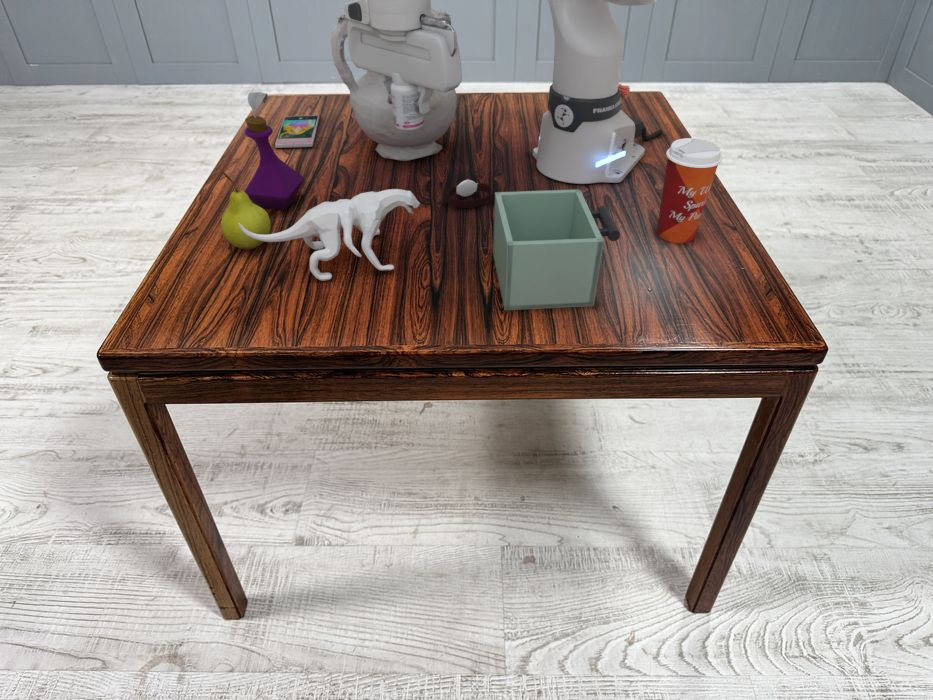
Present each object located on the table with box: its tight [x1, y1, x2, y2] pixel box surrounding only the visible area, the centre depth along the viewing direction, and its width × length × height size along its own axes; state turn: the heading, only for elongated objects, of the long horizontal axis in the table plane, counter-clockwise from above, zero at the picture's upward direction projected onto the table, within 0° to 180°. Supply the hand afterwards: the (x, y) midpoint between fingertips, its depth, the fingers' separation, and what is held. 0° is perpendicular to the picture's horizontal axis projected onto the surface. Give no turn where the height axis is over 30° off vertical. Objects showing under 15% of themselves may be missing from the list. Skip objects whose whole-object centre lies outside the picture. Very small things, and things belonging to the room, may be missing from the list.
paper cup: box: [657, 137, 723, 244], centre depth 97 cm, size 8×8×14 cm
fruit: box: [220, 170, 272, 251], centre depth 95 cm, size 7×7×12 cm
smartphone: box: [274, 114, 320, 149], centre depth 131 cm, size 7×1×15 cm
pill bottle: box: [391, 73, 424, 130], centre depth 100 cm, size 5×5×8 cm
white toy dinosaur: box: [238, 188, 421, 282], centre depth 92 cm, size 12×25×10 cm, turn 107°
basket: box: [492, 188, 621, 311], centre depth 89 cm, size 10×14×15 cm
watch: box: [446, 178, 493, 209], centre depth 108 cm, size 8×5×4 cm, turn 107°
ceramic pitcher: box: [330, 7, 458, 162], centre depth 118 cm, size 22×20×25 cm
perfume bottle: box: [243, 91, 305, 211], centre depth 103 cm, size 8×8×18 cm
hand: (407, 107), depth 101 cm, fingers closed on pill bottle, 5 cm apart
